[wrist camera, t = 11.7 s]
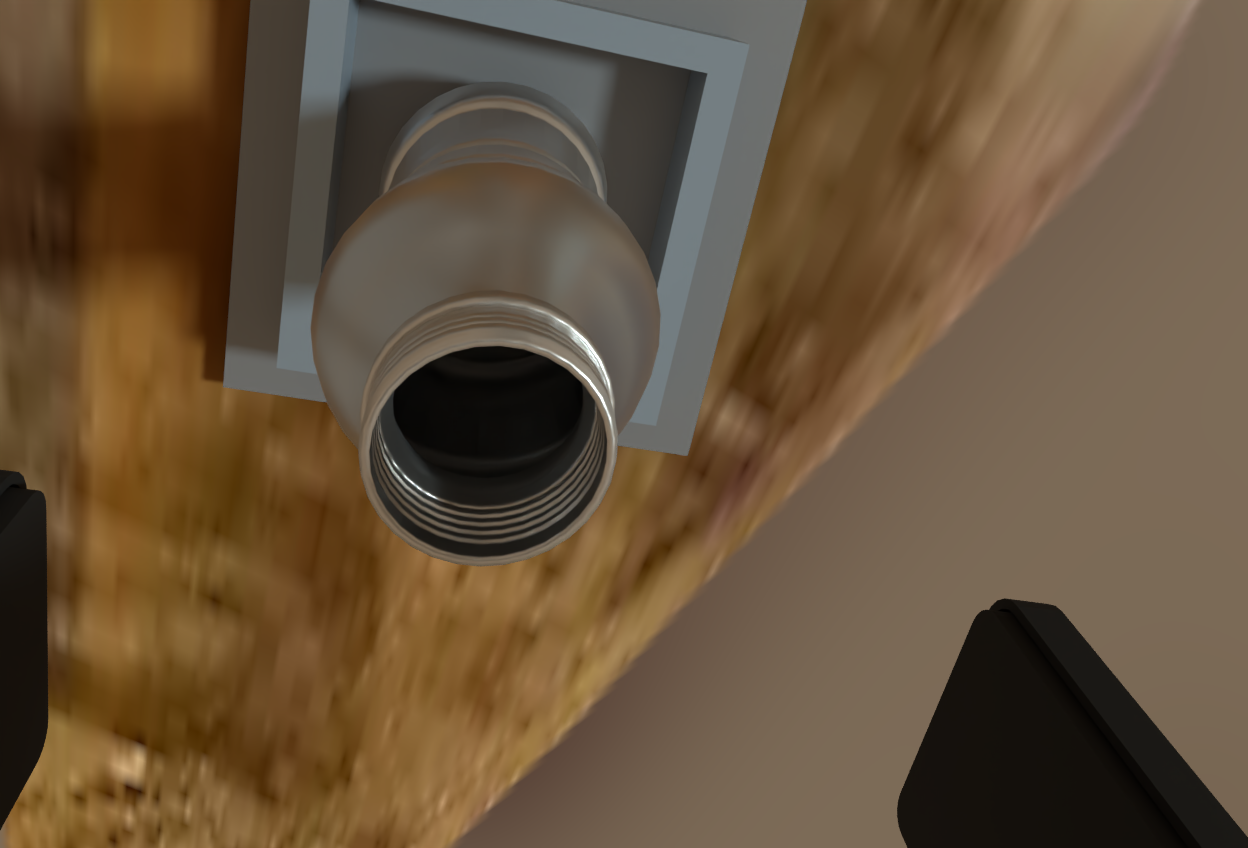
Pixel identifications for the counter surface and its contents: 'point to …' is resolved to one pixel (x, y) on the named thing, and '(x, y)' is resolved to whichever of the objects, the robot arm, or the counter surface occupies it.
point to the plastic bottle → (487, 328)
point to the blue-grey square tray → (546, 61)
